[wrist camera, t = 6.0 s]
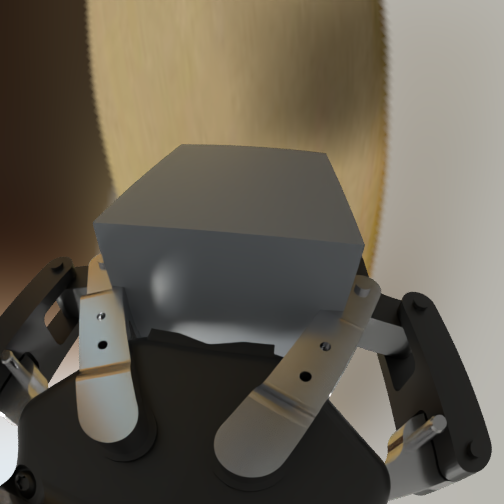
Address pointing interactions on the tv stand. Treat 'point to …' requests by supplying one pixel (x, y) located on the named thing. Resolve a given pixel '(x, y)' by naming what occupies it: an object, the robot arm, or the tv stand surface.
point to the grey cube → (232, 244)
